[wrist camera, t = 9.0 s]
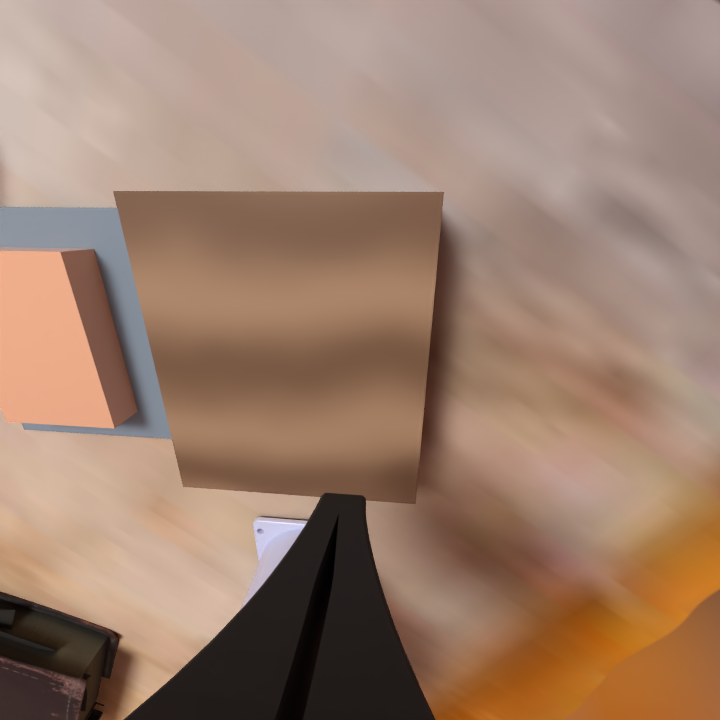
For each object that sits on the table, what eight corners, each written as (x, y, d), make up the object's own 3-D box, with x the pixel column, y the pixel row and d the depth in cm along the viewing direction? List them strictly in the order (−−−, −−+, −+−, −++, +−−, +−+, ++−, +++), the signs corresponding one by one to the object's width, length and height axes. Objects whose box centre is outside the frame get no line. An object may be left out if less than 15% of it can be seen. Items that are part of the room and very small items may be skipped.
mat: (208, 437, 23) (205, 441, 22) (29, 426, 24) (24, 429, 23) (165, 208, 18) (160, 208, 17) (-62, 207, 19) (-71, 206, 18)
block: (6, 421, 21) (38, 405, 23) (114, 428, 20) (137, 411, 22) (-71, 249, 17) (-25, 246, 19) (60, 251, 16) (93, 248, 18)
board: (411, 456, 22) (415, 504, 18) (217, 444, 23) (183, 486, 19) (432, 198, 16) (443, 192, 13) (172, 197, 17) (113, 191, 14)
